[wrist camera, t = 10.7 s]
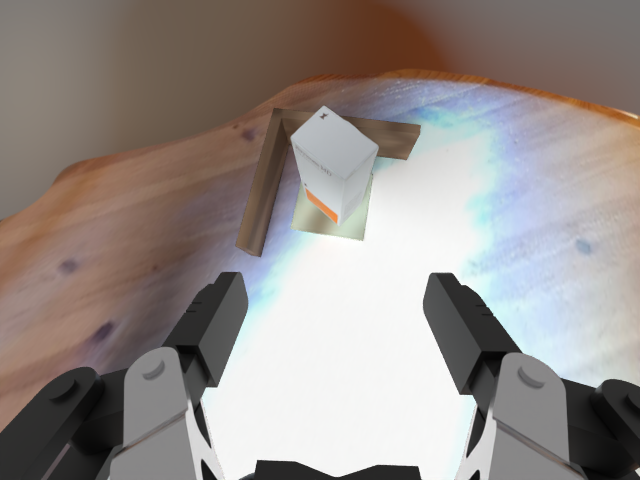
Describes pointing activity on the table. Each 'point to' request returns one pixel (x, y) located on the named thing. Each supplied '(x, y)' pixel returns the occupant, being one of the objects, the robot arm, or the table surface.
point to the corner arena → (307, 217)
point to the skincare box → (333, 163)
